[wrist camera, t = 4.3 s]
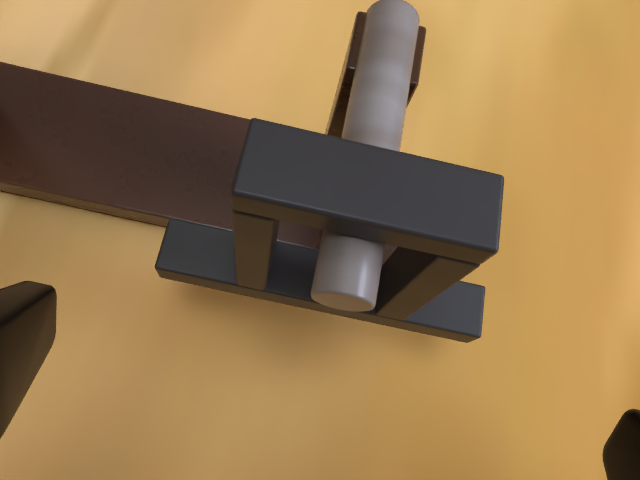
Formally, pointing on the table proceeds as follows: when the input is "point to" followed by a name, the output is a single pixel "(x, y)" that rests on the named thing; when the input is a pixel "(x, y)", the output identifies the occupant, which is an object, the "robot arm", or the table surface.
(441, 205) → the black piece
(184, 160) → the rack
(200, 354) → the table surface
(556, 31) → the table surface
